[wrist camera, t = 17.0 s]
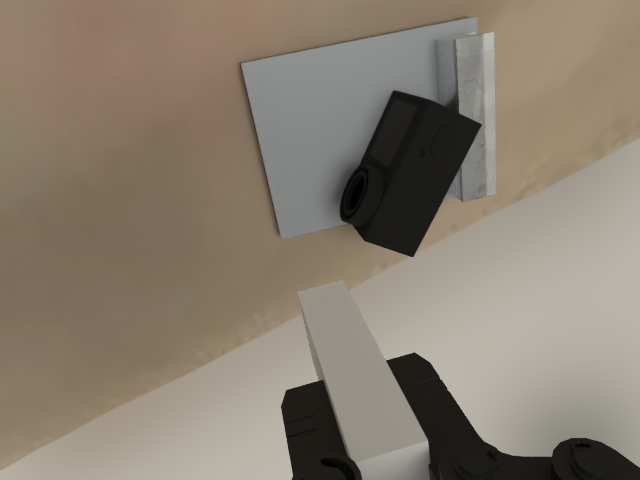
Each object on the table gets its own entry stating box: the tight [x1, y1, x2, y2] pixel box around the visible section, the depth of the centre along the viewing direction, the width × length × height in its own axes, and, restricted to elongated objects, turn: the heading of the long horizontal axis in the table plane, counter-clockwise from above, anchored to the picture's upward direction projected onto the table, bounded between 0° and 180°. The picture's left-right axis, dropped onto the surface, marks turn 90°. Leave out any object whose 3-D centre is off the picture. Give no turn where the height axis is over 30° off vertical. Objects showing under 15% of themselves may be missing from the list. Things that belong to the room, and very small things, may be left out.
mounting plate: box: [240, 16, 478, 240], centre depth 37 cm, size 18×14×2 cm
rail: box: [434, 32, 496, 202], centre depth 36 cm, size 3×12×4 cm, turn 10°
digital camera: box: [340, 90, 482, 257], centre depth 34 cm, size 10×5×7 cm, turn 157°
